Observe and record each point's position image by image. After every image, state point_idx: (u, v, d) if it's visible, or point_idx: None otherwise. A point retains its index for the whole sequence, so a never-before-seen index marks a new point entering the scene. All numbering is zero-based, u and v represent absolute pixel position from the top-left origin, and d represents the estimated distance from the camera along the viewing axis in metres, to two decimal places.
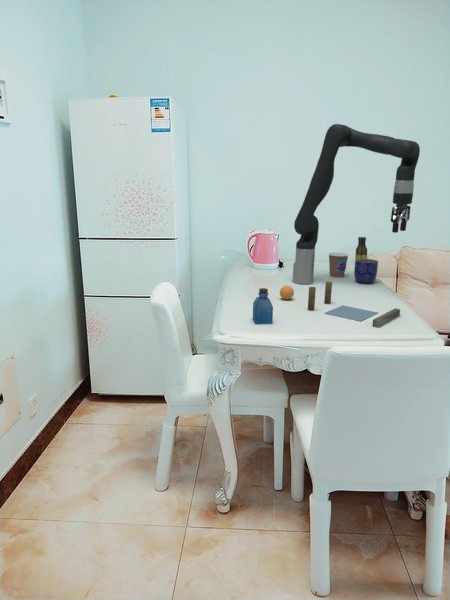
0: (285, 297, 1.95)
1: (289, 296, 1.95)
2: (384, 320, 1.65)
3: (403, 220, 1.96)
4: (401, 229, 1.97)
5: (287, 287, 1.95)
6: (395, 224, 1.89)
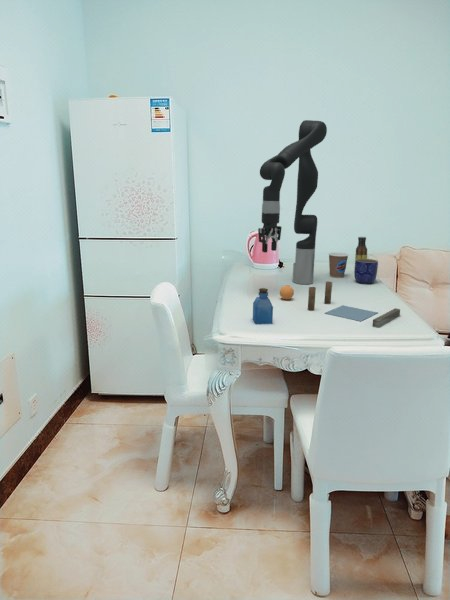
0: (285, 297, 1.95)
1: (289, 296, 1.95)
2: (384, 320, 1.65)
3: (273, 240, 2.00)
4: (272, 249, 2.01)
5: (287, 287, 1.95)
6: (264, 244, 1.95)
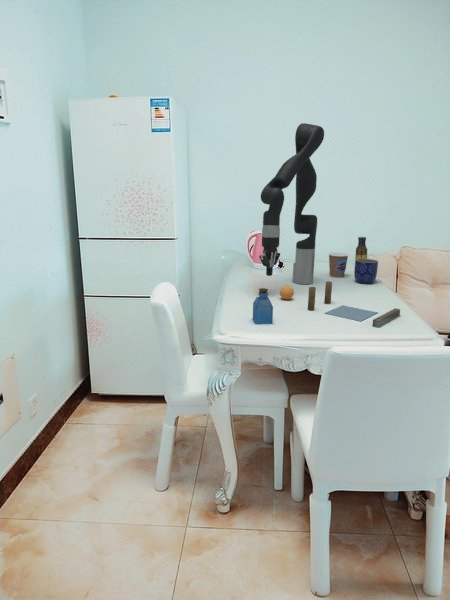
0: (285, 297, 1.95)
1: (289, 296, 1.95)
2: (384, 320, 1.65)
3: None
4: None
5: (287, 287, 1.95)
6: (268, 268, 1.99)
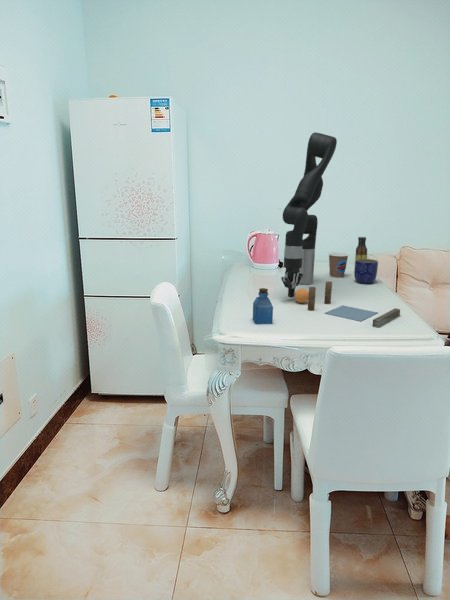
0: None
1: None
2: (384, 320, 1.65)
3: None
4: None
5: (303, 302, 1.91)
6: (290, 289, 1.94)
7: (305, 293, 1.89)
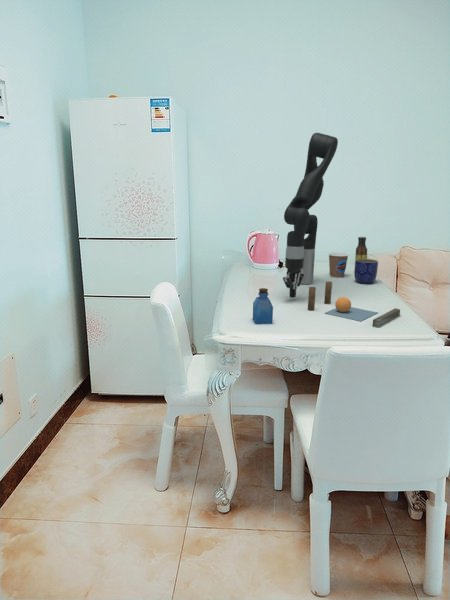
0: (335, 304, 1.79)
1: None
2: (384, 320, 1.65)
3: None
4: None
5: (344, 311, 1.78)
6: (291, 290, 1.93)
7: (347, 302, 1.77)
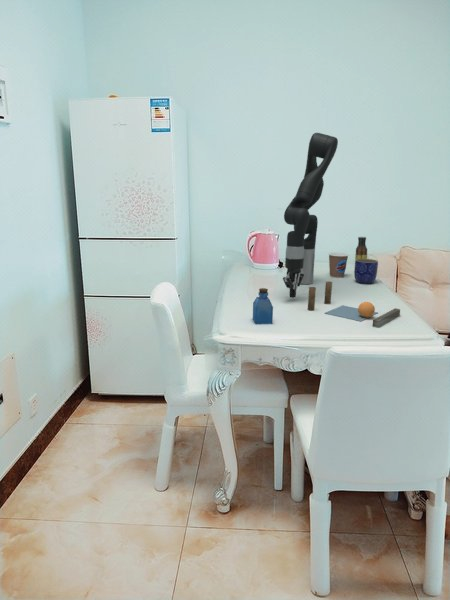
0: (368, 312, 1.70)
1: (371, 309, 1.70)
2: (384, 320, 1.65)
3: None
4: None
5: (362, 303, 1.72)
6: (291, 290, 1.93)
7: None
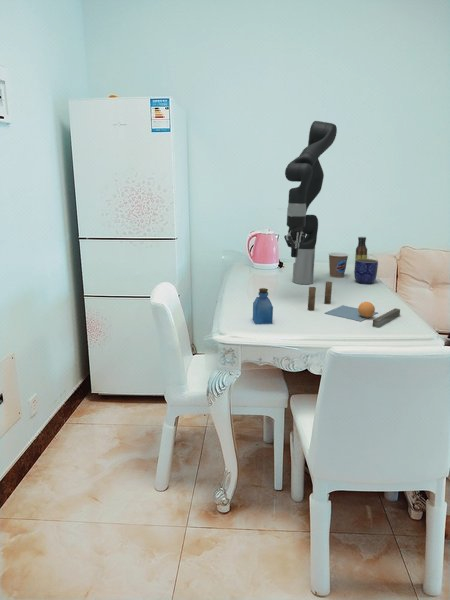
0: (368, 312, 1.70)
1: (371, 309, 1.70)
2: (384, 320, 1.65)
3: None
4: None
5: (362, 303, 1.72)
6: (293, 249, 1.89)
7: None
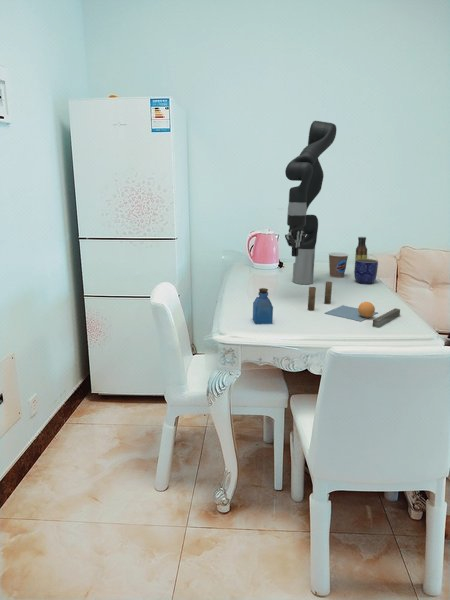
0: (368, 312, 1.70)
1: (371, 309, 1.70)
2: (384, 320, 1.65)
3: None
4: None
5: (362, 303, 1.72)
6: (293, 248, 1.89)
7: None
